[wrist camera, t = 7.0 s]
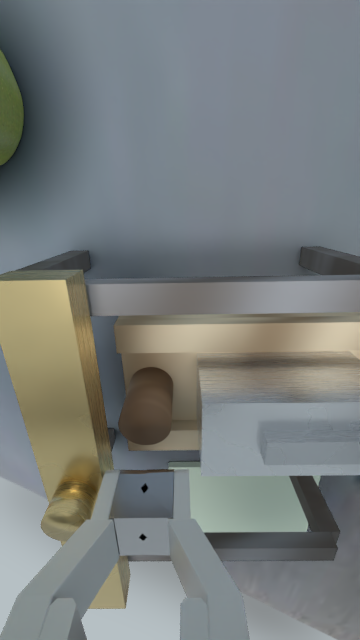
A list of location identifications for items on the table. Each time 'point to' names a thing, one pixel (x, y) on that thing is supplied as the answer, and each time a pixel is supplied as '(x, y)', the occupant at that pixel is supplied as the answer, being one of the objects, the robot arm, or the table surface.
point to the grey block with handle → (278, 413)
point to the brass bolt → (60, 401)
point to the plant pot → (9, 112)
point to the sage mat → (243, 502)
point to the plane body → (223, 337)
